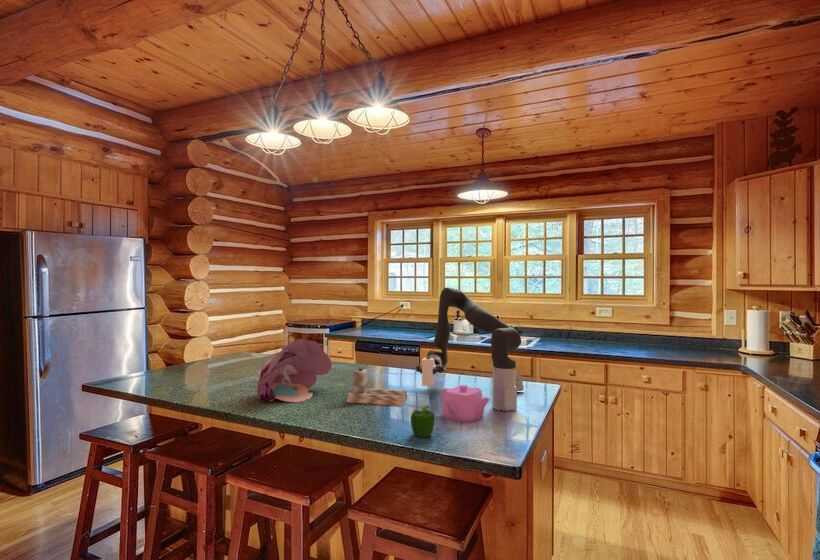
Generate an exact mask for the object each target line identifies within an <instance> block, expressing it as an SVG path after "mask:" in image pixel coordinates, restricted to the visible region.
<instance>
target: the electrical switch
mask: <svg viewBox="0 0 820 560" xmlns="http://www.w3.org/2000/svg"><path fill="white" fill-rule="evenodd" d="M516 387H517V391H522V390H524V391H525V388H524V384H523V377H522V373H521V372H520V371H519V372H516Z"/></svg>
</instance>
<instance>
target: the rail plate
mask: <svg viewBox="0 0 820 560" xmlns="http://www.w3.org/2000/svg"><path fill="white" fill-rule="evenodd" d="M368 372H369V370H368V369H364V368H363V367H359V368H357V369H356V370H354V371H353V392H348V394H347V395H348V396H347V397H348V398H347V399H346V402H347V403H358V404H368V403H370V404H369V405H371V404H373V405H386V406H400V407H403V405H404V403H406V401H407V399H408V390H398V389H397V390H396V389H381V388H368Z"/></svg>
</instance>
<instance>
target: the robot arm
mask: <svg viewBox="0 0 820 560" xmlns="http://www.w3.org/2000/svg"><path fill="white" fill-rule="evenodd" d="M438 305H439V306H438V314H437V315H438V316H437V317H438V318H437V325H436V331H435V335H434V339H433V345H434V346H435V347H436V348H438V349H440V350H441V351H438V350H434V349H431V350H429V351H428V352H427V354H426V356H430V358H434V368H433V374H434V375H435V374H437V373H439V374H442V373H443V372H446V368H447V367H446V366H447V364H448V345H449V341H450V335H451V326H450V322H449V318H448V311H449V308H456V309H458V310H460V311H461V312H463V313H464V318H465V320H466V321H467V322H468V323H469V324H470V325H472V326H473V327H474V328H476V329H477V330H479V331H482V332H484V333H488V334H491V337H490V350H491V360H492V409H494V408H495V410H496V409H497V411H500V410H503V411H502V412H504V411H507V412H511V411H510V410H514V411H517V410H518V405H517V404H518V393H517V387H516V373H517V369H516V368H517V362H516V360H515V359H514V358H511V357H509V356H508V351H513V350H516V349H518V348H519V347H520V346H521V344H522V336H521V335H520V333H519V331H518V330H517V329H516V328H514V327H512V326H510V325H508V324H506V323H505V322H503V321H501V320H500V319H499V318H497V317H496V316H494V315H493V314H491V313H490V312H489V311H488V310H486V309H485V308H484V307H482V306H481V305H479V304H478V303H477V302H475V301H474V300H472V299H471V298H470V297H469V296H468V295H467V294H465V293H464V291H462V290H461V289H458V288H453V287H444V288H443V289H442V290H441V292H440V295H439V304H438ZM415 371H416V372H417V373H419V374H420V375H422V364H421V365H420V364H419V363H415Z"/></svg>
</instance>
